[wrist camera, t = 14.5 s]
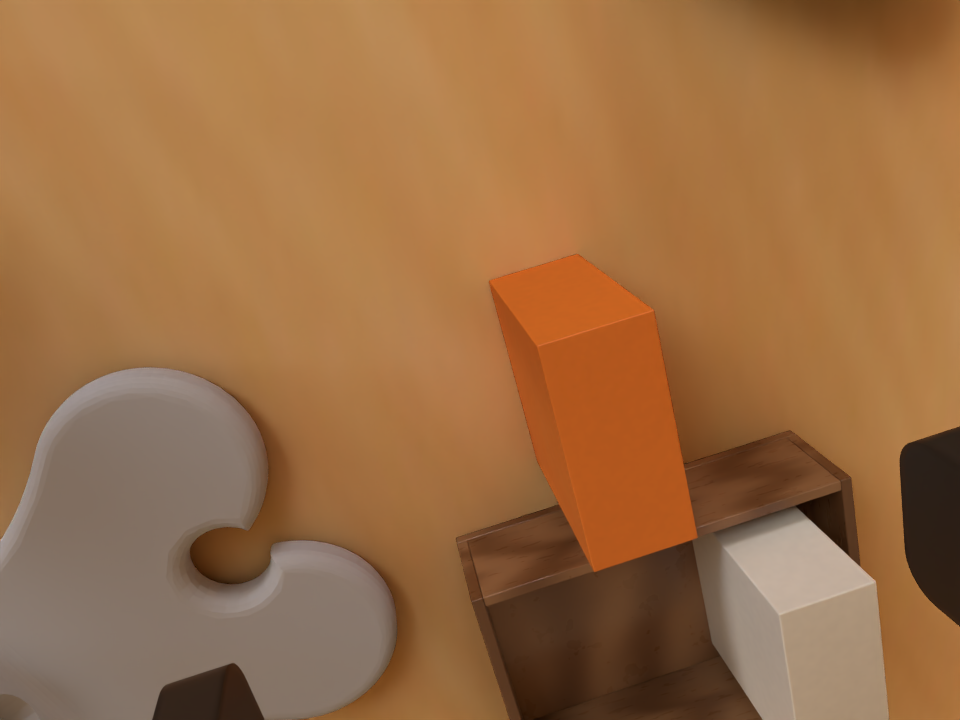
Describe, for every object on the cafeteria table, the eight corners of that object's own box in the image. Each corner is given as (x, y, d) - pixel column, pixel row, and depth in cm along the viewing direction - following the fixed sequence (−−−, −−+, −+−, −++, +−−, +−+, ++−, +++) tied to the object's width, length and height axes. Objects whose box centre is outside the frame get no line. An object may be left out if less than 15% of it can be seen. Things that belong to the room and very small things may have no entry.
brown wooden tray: (515, 724, 42) (537, 805, 37) (455, 537, 38) (471, 601, 33) (816, 623, 43) (873, 688, 38) (790, 429, 39) (851, 477, 34)
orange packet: (537, 461, 37) (593, 573, 29) (488, 280, 34) (536, 346, 26) (618, 435, 37) (698, 538, 29) (577, 253, 34) (654, 309, 26)
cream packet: (711, 642, 42) (804, 784, 33) (683, 498, 38) (778, 614, 30) (783, 618, 42) (893, 753, 34) (761, 473, 39) (877, 581, 30)
